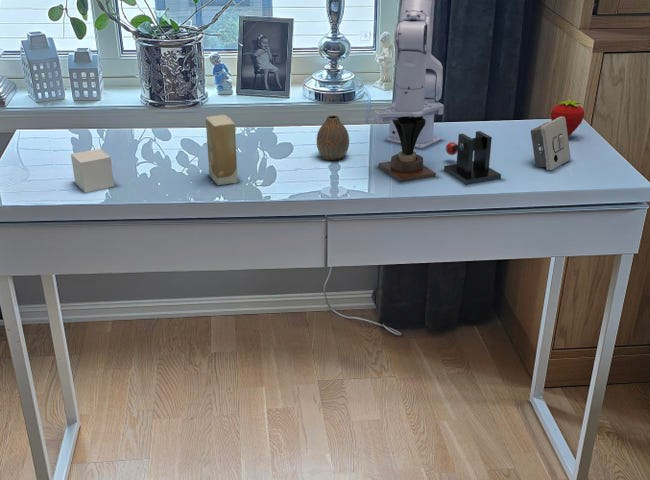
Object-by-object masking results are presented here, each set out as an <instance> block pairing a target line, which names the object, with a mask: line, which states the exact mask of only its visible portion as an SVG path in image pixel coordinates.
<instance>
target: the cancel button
mask: <svg viewBox="0 0 650 480" xmlns="http://www.w3.org/2000/svg"><path fill="white" fill-rule="evenodd" d="M397 154H398V160H399V161H403V162H413V161H416V154H417V152H416V151H414V150H413V154H410V155H406V154H404V153H403V152H402V150H400V151H398V153H397Z"/></svg>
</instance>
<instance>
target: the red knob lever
mask: <svg viewBox="0 0 650 480" xmlns="http://www.w3.org/2000/svg"><path fill="white" fill-rule="evenodd" d="M471 138H472V139H474V150H473V152H474V151H476V150H481V149H483V141H482V137H478V138H475V137H471ZM457 150H458V143H456V142H453V141H450V142H449V143H447V145H446V146H445V151H446V153H447V154H448V155H449V156H454V155H457Z"/></svg>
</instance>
